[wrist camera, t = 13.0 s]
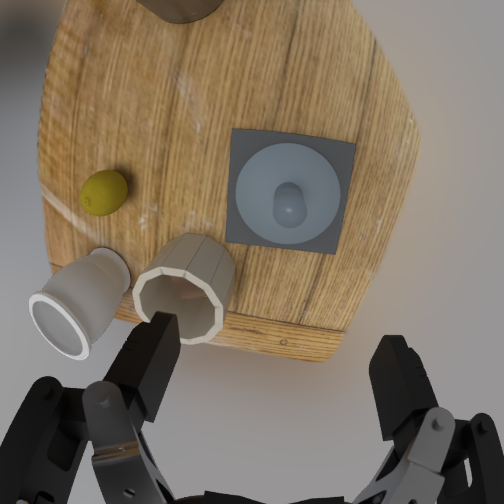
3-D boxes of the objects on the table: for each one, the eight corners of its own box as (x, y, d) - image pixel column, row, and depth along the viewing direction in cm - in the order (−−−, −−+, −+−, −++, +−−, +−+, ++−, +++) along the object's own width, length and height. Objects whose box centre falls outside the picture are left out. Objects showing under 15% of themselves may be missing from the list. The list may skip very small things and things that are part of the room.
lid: (240, 137, 29) (229, 141, 23) (346, 151, 28) (363, 158, 22) (233, 235, 34) (223, 261, 28) (329, 246, 34) (339, 274, 27)
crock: (158, 230, 35) (127, 261, 27) (237, 238, 35) (224, 275, 27) (164, 295, 40) (141, 334, 32) (233, 306, 40) (222, 350, 32)
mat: (232, 128, 29) (232, 128, 28) (354, 143, 28) (355, 144, 28) (226, 240, 35) (225, 241, 35) (334, 252, 34) (335, 254, 34)
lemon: (142, 172, 32) (108, 187, 25) (132, 209, 35) (100, 232, 27) (109, 159, 32) (72, 172, 24) (101, 196, 34) (66, 215, 27)
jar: (146, 296, 41) (102, 364, 27) (101, 299, 43) (55, 357, 29) (121, 235, 36) (58, 292, 23) (76, 245, 38) (17, 295, 25)
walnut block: (179, 259, 37) (169, 274, 34) (205, 254, 37) (197, 268, 33) (189, 283, 39) (181, 299, 35) (214, 279, 38) (208, 295, 35)
